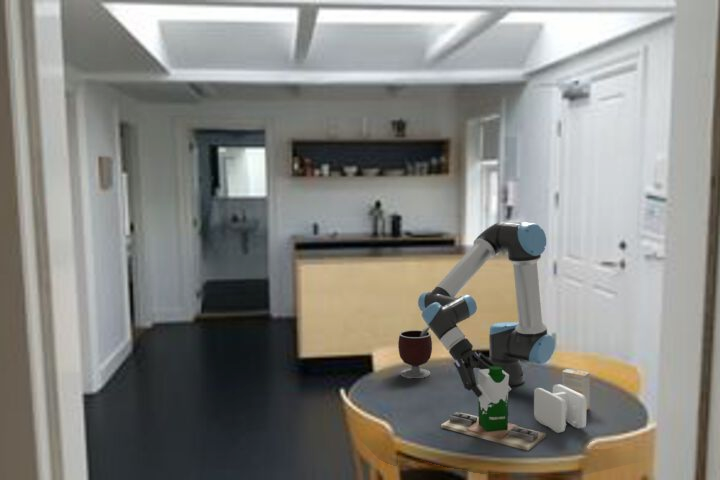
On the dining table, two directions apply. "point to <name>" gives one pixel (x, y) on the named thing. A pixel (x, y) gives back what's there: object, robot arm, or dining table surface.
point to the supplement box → (577, 382)
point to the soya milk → (494, 399)
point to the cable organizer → (560, 408)
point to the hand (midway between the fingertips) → (498, 397)
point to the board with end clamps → (509, 437)
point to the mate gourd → (415, 351)
